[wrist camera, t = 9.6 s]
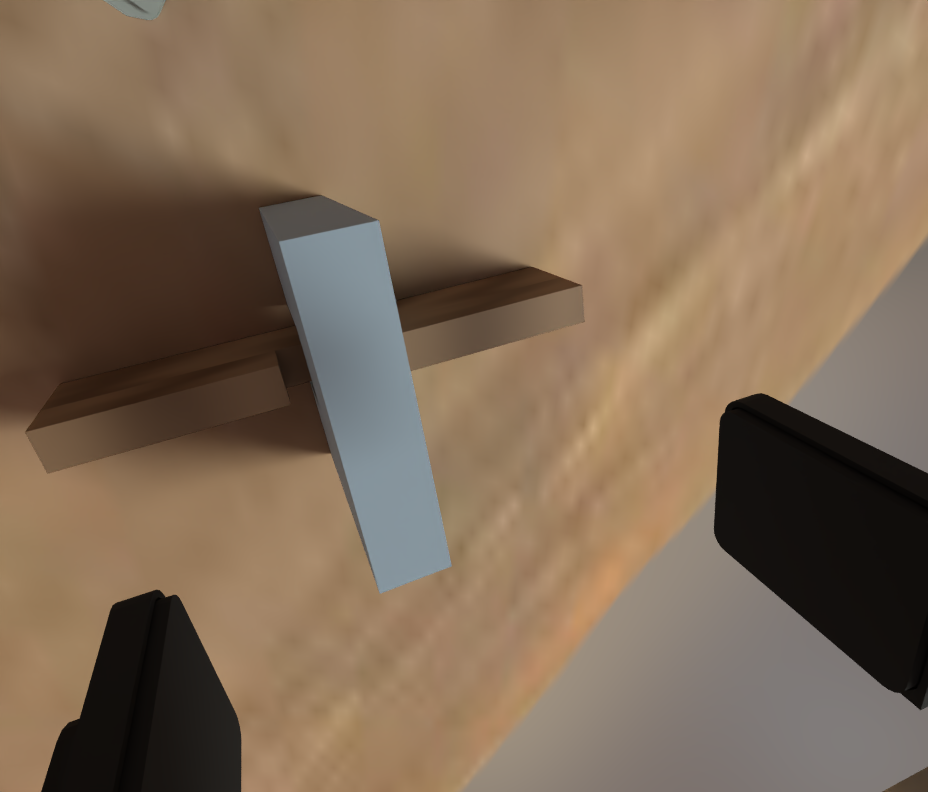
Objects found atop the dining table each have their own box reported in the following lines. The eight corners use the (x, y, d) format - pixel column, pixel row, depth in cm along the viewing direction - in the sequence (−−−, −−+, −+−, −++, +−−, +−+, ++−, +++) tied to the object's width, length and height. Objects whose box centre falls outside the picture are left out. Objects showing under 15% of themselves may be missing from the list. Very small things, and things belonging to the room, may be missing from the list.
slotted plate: (258, 207, 20) (278, 241, 12) (321, 195, 21) (378, 220, 13) (331, 453, 25) (379, 593, 17) (381, 438, 25) (451, 566, 17)
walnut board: (532, 266, 25) (582, 285, 21) (535, 298, 25) (584, 321, 22) (60, 383, 20) (24, 432, 17) (77, 419, 21) (47, 473, 17)
